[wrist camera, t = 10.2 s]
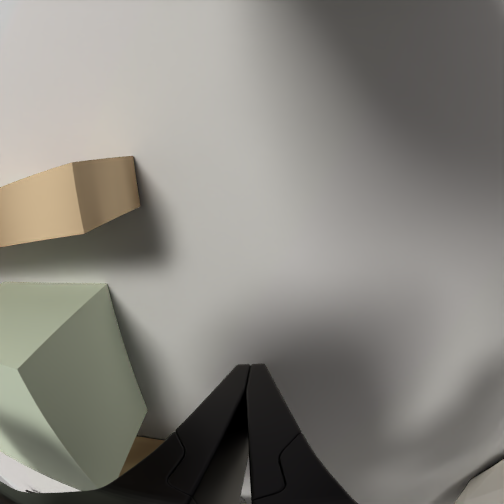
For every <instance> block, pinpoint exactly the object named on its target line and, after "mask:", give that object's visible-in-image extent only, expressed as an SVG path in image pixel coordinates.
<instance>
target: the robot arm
mask: <svg viewBox="0 0 504 504" xmlns="http://www.w3.org/2000/svg"><path fill="white" fill-rule="evenodd" d="M248 454H249V465H250V483H251V500H252V504H358V503H357V502H356V501H355V500H354V499H352V497H351V496H350V495H349V494H348V493H347V492H346V491H345V490H344V489H343V488H342V486H341V485H340V484H339V483H338V482H337V481H336V480H335V478H334V477H333V476H332V475H331V474H330V473H329V471H328V470H327V469H326V468H325V467H324V465H323V464H322V463H321V461H320V460H319V459H318V458H317V456H316V455H315V453H314V452H313V450H312V449H311V447H310V446H309V444H308V442H307V441H306V439H305V437H304V435H303V434H302V432H301V430H300V428H299V427H298V425H297V423H296V421H295V419H294V418H293V416H292V414H291V412H290V410H289V408H288V407H287V405H286V403H285V401H284V399H283V397H282V395H281V394H280V392H279V390H278V388H277V386H276V384H275V382H274V380H273V379H272V377H271V375H270V373H269V371H268V369H267V367H266V365H265V364H252V365H249V364H239V365H236V366H235V368H234V369H233V370H232V371H231V372H230V373H229V374H228V375H227V376H226V378H225V379H224V380H223V381H222V382H221V383H220V384H219V385H218V386H217V387H216V388H215V389H214V391H213V392H212V393H211V394H210V395H209V396H208V397H207V398H206V399H205V400H204V401H203V402H202V403H201V404H200V405H199V407H198V408H197V409H196V410H195V411H194V412H193V413H192V414H191V415H190V416H189V417H188V418H187V419H186V420H185V421H184V422H183V423H182V424H181V425H180V426H179V427H178V428H177V429H176V432H173V433H172V434H171V435H170V436H169V437H168V438H167V439H166V440H165V441H164V442H163V443H162V444H161V445H160V446H159V447H158V448H156V449H155V450H154V451H153V452H152V453H150V454H149V455H148V456H147V457H146V458H144V459H143V460H142V461H140V462H139V463H138V464H136V465H135V466H134V467H132V468H131V469H130V470H128V471H127V472H125V473H124V474H123V475H121V476H120V477H118V478H117V479H116V480H114V481H113V482H111V483H109V484H108V485H106V486H104V487H101V488H98V489H95V490H89V491H78V492H63V493H26V492H21V491H17V490H15V489H12V488H10V487H9V486H7V485H6V484H4V483H2V482H0V504H239V500H240V495H241V490H242V485H243V480H244V475H245V470H246V465H247V460H248Z"/></svg>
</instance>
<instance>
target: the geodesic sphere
mask: <svg viewBox="0 0 504 504" xmlns="http://www.w3.org/2000/svg"><path fill="white" fill-rule="evenodd" d="M454 504H504V459H503V460H502V461H500V462H499V463H497V464H496V465H494V466H493V467H491V468H489V469H488V470H486V471H485V472H483V473H481V474H480V475H478V476H476V477H474V478H473V479H471V480H470V481H469V483H468V484H467V486H466V487H465V489H464V490H463V492H462V493H461V495H460V496H459V498H458V499H457V500H456V502H455V503H454Z"/></svg>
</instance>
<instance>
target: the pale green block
mask: <svg viewBox="0 0 504 504" xmlns="http://www.w3.org/2000/svg"><path fill="white" fill-rule="evenodd" d="M147 411H148V409H147V407H146V404H145V402H144V399H143V397H142V394H141V392H140V389H139V386H138V384H137V381H136V378H135V375H134V373H133V370H132V367H131V364H130V361H129V358H128V355H127V352H126V349H125V346H124V343H123V339H122V336H121V333H120V330H119V326H118V323H117V319H116V316H115V312H114V308H113V305H112V301H111V297H110V293H109V289H108V285H107V284H92V283H31V282H2V283H1V284H0V452H2V453H4V454H5V455H7V456H9V457H11V458H12V459H14V460H16V461H18V462H20V463H21V464H23V465H25V466H27V467H29V468H31V469H33V470H35V471H37V472H39V473H41V474H43V475H45V476H48V477H50V478H52V479H54V480H56V481H59V482H61V483H63V484H66V485H68V486H71V487H73V488H76V489H78V490H81V491H89V490H95V489H98V488H101V487H104V486H106V485H108V484H109V483H111V482H113V481H114V480H116V479H117V478H118V477H119V474H120V472H121V470H122V467H123V465H124V463H125V460H126V458H127V456H128V453H129V451H130V449H131V447H132V444H133V442H134V440H135V438H136V435H137V433H138V431H139V429H140V426H141V424H142V422H143V420H144V417H145V415H146V413H147Z"/></svg>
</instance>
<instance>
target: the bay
mask: <svg viewBox="0 0 504 504" xmlns="http://www.w3.org/2000/svg"><path fill="white" fill-rule="evenodd" d="M138 207H140V200H139V194H138V187H137V181H136V174H135V167H134V159H133V156H126V157H115V158H106V159H97V160H88V161H80V162H73V163H69V164H66V165H62V166H59V167H56V168H53V169H50V170H47V171H44V172H41V173H38V174H35V175H32V176H29V177H26V178H24V179H21V180H18V181H16V182H13V183H10V184H8V185H5V186H3V187H0V247H5V246H10V245H16V244H22V243H28V242H34V241H40V240H46V239H53V238H59V237H66V236H73V235H79V234H85V233H87V232H89V231H91V230H93V229H95V228H97V227H99V226H101V225H103V224H105V223H107V222H109V221H111V220H113V219H115V218H117V217H119V216H121V215H123V214H125V213H128V212H130V211H132V210H134V209H136V208H138ZM164 441H165V440H158V439H151V438H144V437H138V436H136V438H135V440H134V442H133V444H132V447H131V449H130V451H129V453H128V456H127V458H126V460H125V463H124V465H123V467H122V470H121V472H120V474H119V477H120V476H121V475H123V474H124V473H125V472H127V471H128V470H130V469H131V468H132V467H134V466H135V465H136V464H138V463H139V462H140V461H142V460H143V459H144V458H146V457H147V456H148V455H149V454H150V453H152V452H153V451H154V450H155V449H156V448H158V447H159V446H160V445H161V444H162V443H163V442H164Z"/></svg>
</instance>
